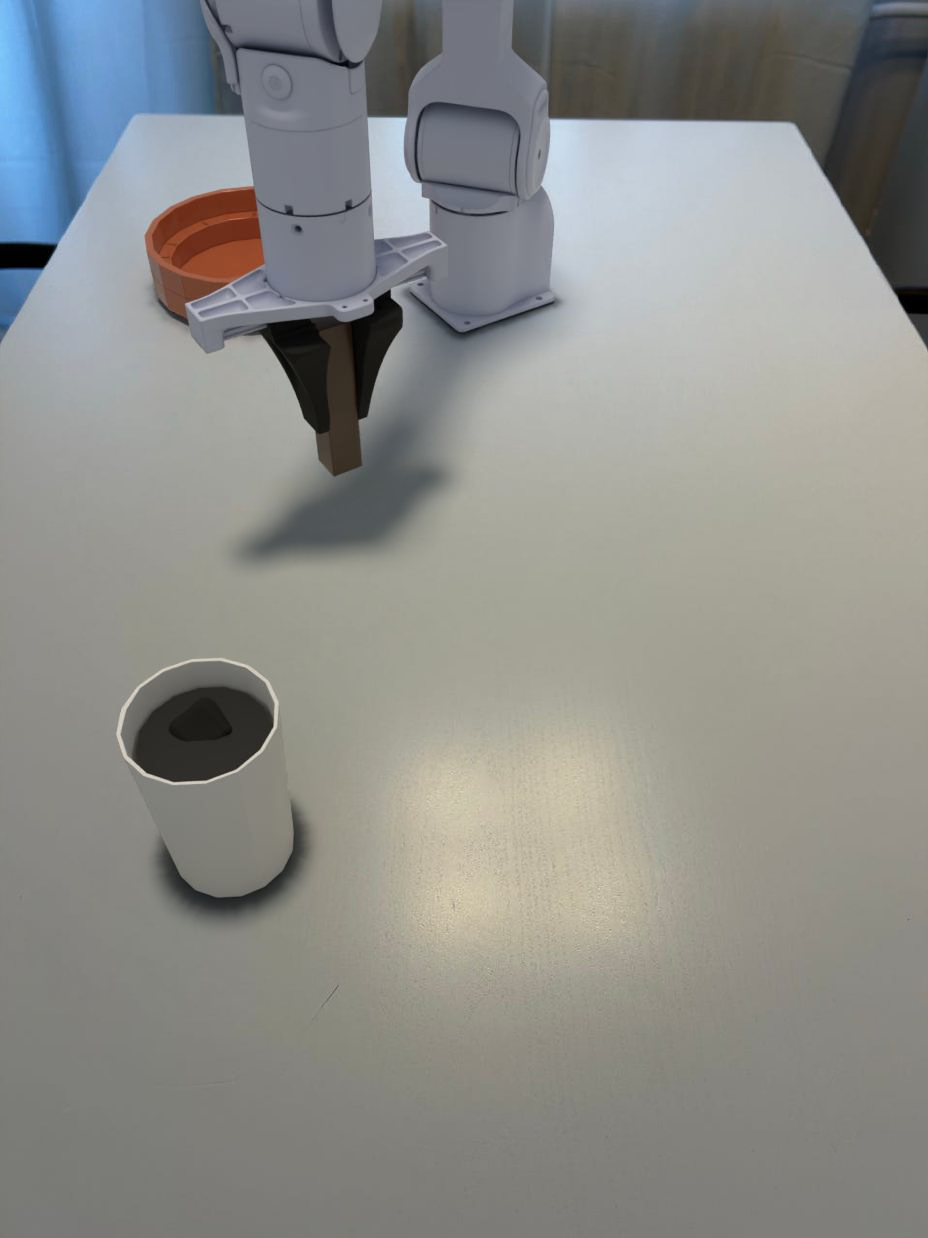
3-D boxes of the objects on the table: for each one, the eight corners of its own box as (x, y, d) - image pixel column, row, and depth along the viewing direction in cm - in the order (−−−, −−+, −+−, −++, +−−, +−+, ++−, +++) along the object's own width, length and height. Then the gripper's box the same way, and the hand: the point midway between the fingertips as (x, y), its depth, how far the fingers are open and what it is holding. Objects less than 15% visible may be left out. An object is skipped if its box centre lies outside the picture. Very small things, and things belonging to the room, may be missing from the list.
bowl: (298, 219, 94) (292, 170, 91) (388, 298, 85) (385, 246, 82) (127, 266, 88) (115, 215, 84) (205, 357, 79) (194, 303, 75)
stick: (346, 448, 64) (333, 303, 57) (362, 466, 63) (351, 320, 56) (318, 459, 63) (301, 314, 56) (333, 477, 62) (318, 331, 55)
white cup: (141, 831, 50) (89, 705, 43) (260, 764, 53) (231, 634, 46) (205, 933, 47) (161, 815, 40) (329, 855, 50) (309, 731, 42)
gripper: (210, 263, 46) (252, 497, 56) (481, 186, 51) (475, 412, 61) (149, 201, 50) (199, 430, 60) (407, 135, 55) (413, 355, 65)
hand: (335, 417), depth 61 cm, fingers closed on stick, 2 cm apart
